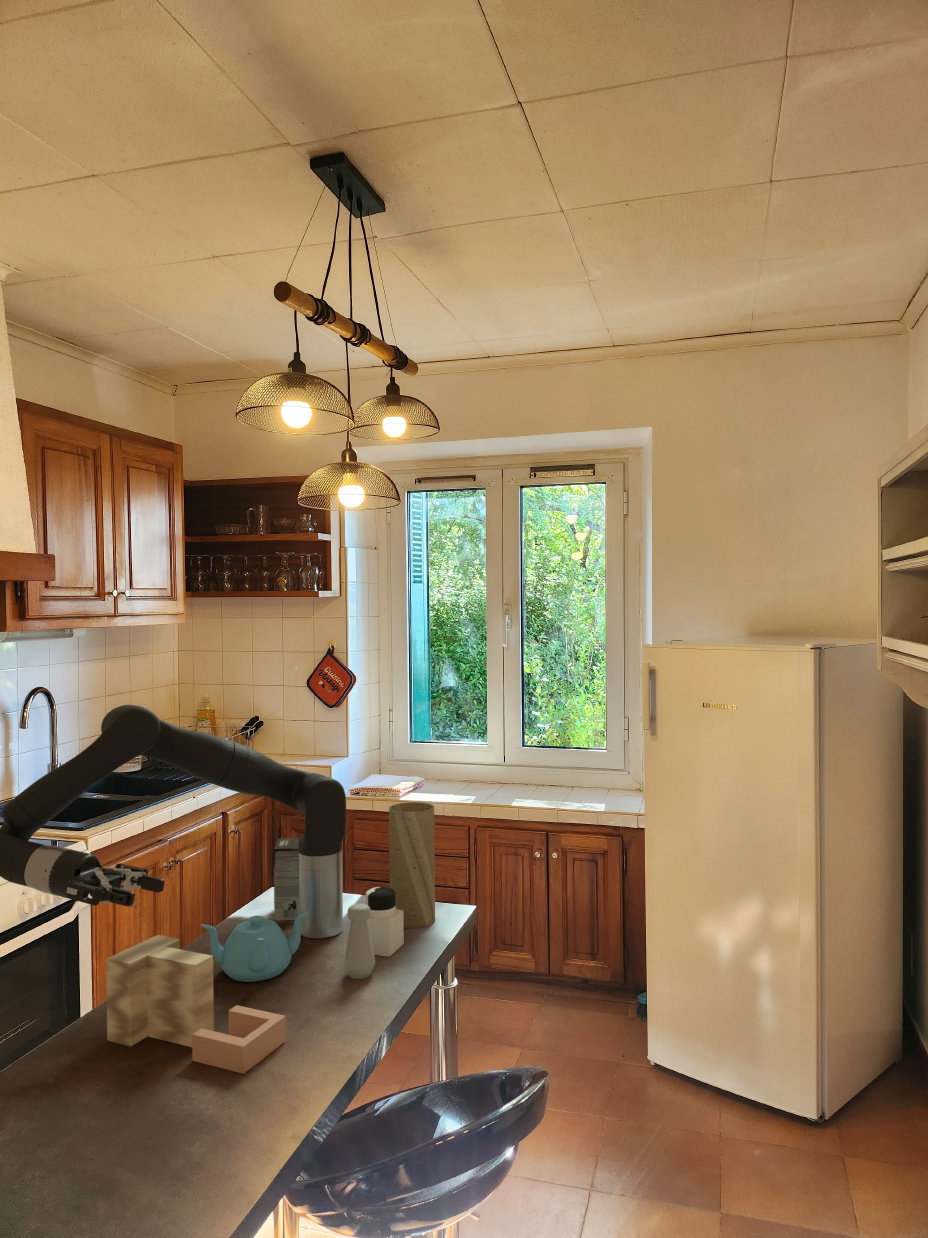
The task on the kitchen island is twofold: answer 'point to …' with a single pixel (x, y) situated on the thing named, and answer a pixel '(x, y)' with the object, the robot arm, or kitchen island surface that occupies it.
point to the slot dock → (240, 1040)
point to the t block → (159, 993)
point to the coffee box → (286, 879)
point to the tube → (413, 861)
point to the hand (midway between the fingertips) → (148, 893)
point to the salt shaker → (359, 943)
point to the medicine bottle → (384, 921)
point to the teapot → (255, 949)
